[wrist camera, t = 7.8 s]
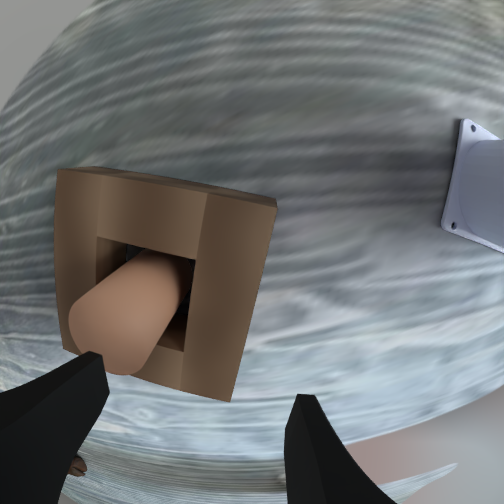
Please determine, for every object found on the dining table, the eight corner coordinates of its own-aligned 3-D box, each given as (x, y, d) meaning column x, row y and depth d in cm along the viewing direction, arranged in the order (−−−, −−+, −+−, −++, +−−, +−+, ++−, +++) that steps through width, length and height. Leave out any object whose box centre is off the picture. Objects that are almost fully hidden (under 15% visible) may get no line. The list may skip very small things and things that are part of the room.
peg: (205, 272, 18) (164, 343, 11) (169, 312, 19) (122, 388, 12) (157, 231, 18) (88, 276, 10) (126, 273, 19) (58, 332, 11)
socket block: (275, 198, 17) (277, 208, 13) (236, 364, 20) (229, 402, 16) (94, 166, 17) (57, 169, 13) (89, 322, 20) (63, 348, 16)
